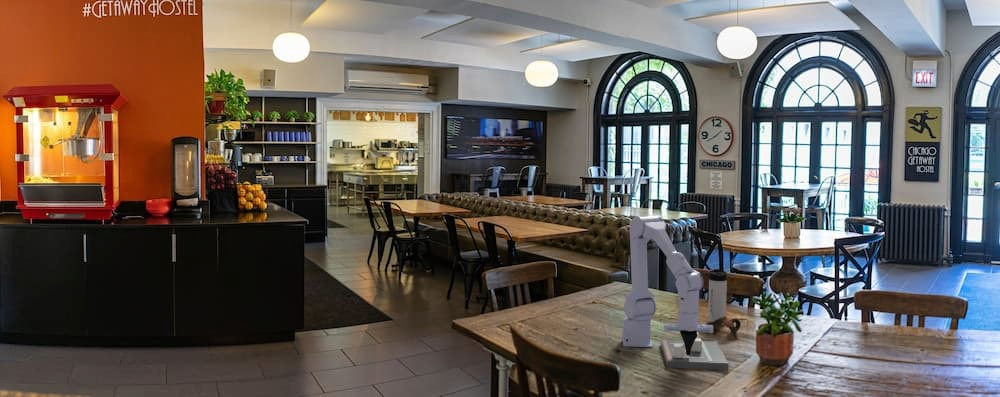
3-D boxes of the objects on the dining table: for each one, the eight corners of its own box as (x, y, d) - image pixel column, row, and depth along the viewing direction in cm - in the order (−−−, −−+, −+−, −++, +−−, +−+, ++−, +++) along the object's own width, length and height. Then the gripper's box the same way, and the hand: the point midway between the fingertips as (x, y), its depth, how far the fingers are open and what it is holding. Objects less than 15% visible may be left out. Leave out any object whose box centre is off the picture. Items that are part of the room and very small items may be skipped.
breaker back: (689, 344, 229) (689, 334, 229) (687, 341, 232) (688, 331, 232) (698, 345, 229) (698, 334, 229) (697, 342, 232) (697, 332, 232)
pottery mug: (724, 344, 239) (713, 321, 241) (710, 348, 248) (699, 327, 250) (751, 331, 243) (740, 309, 245) (736, 336, 252) (725, 314, 254)
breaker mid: (691, 351, 222) (692, 340, 222) (690, 348, 225) (690, 338, 225) (701, 351, 222) (701, 341, 222) (700, 348, 225) (700, 338, 225)
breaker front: (674, 357, 216) (674, 346, 216) (673, 354, 219) (673, 343, 219) (684, 358, 216) (684, 347, 216) (683, 354, 219) (683, 344, 219)
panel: (667, 367, 214) (667, 360, 214) (660, 345, 236) (660, 339, 236) (728, 369, 212) (728, 362, 212) (716, 347, 234) (716, 341, 233)
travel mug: (723, 321, 265) (724, 269, 264) (727, 326, 259) (728, 272, 257) (706, 320, 266) (707, 268, 264) (709, 325, 260) (711, 272, 258)
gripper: (665, 313, 213) (665, 357, 214) (715, 315, 211) (714, 359, 212) (663, 308, 220) (662, 350, 221) (711, 309, 218) (710, 352, 219)
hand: (687, 354), depth 217 cm, fingers closed
